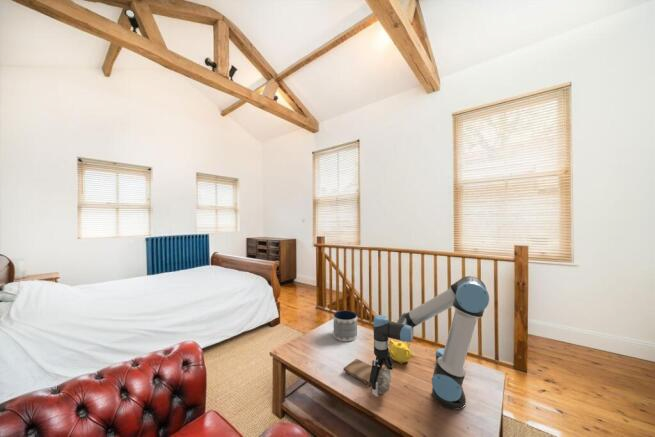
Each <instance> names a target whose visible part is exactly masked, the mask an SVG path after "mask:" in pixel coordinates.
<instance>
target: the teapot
mask: <svg viewBox="0 0 655 437" xmlns="http://www.w3.org/2000/svg"><path fill="white" fill-rule="evenodd" d="M388 344H389V347H388V348H389V352H390V357H391V360H392V361H395V362H398V364H400V365H402V364H403V363H406V362H408V361H409V360H410V359H412V358H413V354H412V349H411V348H410V346H411V342H406V343H405V342H403V341H400V340H398V341H394V339H390V340H389V341H388ZM409 348H410V349H409Z"/></svg>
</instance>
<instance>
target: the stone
mask: <svg viewBox="0 0 655 437" xmlns="http://www.w3.org/2000/svg"><path fill="white" fill-rule="evenodd" d="M377 382H378V394H381V395H384V394H385V393H388V391H389V390H390V385H391V384H390V383H391V382H390V376H389V374H388V373H387V371H386V370H385V368H383V367H382V369H380V372H379V376H378V379H377Z"/></svg>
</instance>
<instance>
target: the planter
mask: <svg viewBox="0 0 655 437" xmlns="http://www.w3.org/2000/svg"><path fill="white" fill-rule="evenodd" d="M333 337H334V339H336V340H338V341H340V342H347V343H348V342H352V341H354V340H356V339H357V337H358V315H357V313H356V312H354V311H351V310H338V311H335V312H334V313H333Z"/></svg>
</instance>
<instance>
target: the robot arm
mask: <svg viewBox="0 0 655 437" xmlns="http://www.w3.org/2000/svg"><path fill="white" fill-rule="evenodd" d="M489 302H490V295H489V291H488V290H487V286H486V284H485V283H484V281H482V280H481V279H480V278H479V277H476V276H472V275H467V276H463V277H461V278H460V279H459V280H457V281H455V282H454V283H452V284H451V285H449V289H447V290H445V291H443V292H441V293H440V294H439V293H438V295H436V296H434V297H433V298H431V299H429V300H427V301H426V302H424V303H422V304H420V305H418V306H417V307H414V308H412V310H409V312H404V313H402V314H400V316H399V318H398V319H397V321H396V322H391V321H389V318H388V317H387V316H386V315H382V314H379V315H375V316H374V317H373V324H372V326H373V327H372V328H373V354H374V355H375V360H374V359H373V360H372V362H371V364H372V365H371V366H372V369H371V374H370V379H369V382H370V383H372V384H371V391H372V393H371V394H372V395H373V396H375V397H378V396H379V393H378V382H377V379H378V376H379V372H380V369H382V368H383V366H385V367H386V368H384V370H386V371H387V373H388V374H389V376H390V383H392V380H391V379H392V374H391V373H392V370H393V366H394V364H393V359H392V357H391V356H390V352H389V349H390V347H389V339H391V340H395V341H396V340H397V341H400V342H402V343H405V342H406V343H407V342H409V343H412V341H413V338H414V329H413V328H415V327H417V326H418V325H420V324H422V323H424V322H426V321H428V320H430V319H432V318H434V317H435V316H438V315H439V314H441V313H443V312H445V311H447V310H449V309H450V308H454V310H455V311H454V312H453V317H452V321H451V324H450V328H449V331H448V336H447V339H446V342H445V345H444V348H442V347H441V348H437V349H436V351H435V354H434V355H435V364H434V368H433V369H434V370H433V375H432V378H431V386H432V388H431V394H432V397H433V399H434V400H435V401H436V402H437V403H439V404H440V405H442V406H444V407H446V408H449V409H452V408H460V409H462V408H461V407H463V406H464V405H465V406H466V404H465V403H466V402H467V400H466V399H467V398H466V394H465V392H464V389H463V383H464V379H465V376H466V370H465V367H464V365H465V362H466V358H467V354H468V351H469V347H470V344H471V341H472V338H473V334H474V331H475V327H476V324H477V320H478V319H480V318H482V317H483V315H484V312H485V309H487V307H488V306H489ZM465 406H464V407H465ZM464 407H463V408H464Z"/></svg>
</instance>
